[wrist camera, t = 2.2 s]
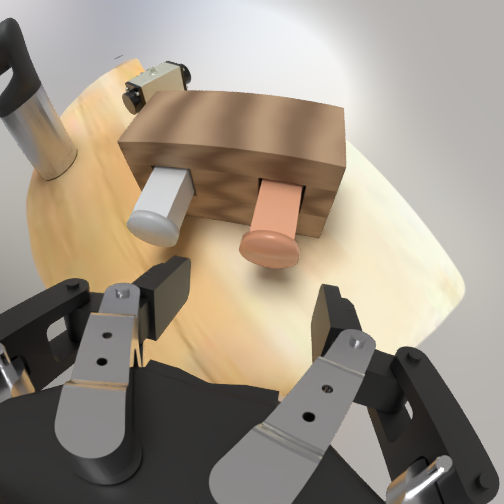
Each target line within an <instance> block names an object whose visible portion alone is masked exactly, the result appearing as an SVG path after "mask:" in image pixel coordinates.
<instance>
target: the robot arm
mask: <svg viewBox="0 0 504 504" xmlns="http://www.w3.org/2000/svg"><path fill="white" fill-rule="evenodd" d="M11 67H12V70H13V76H12V79H11V81H10V83H9V84H8V86H7V87H6V89H5V90H4V91H3V93H2V94H1V96H0V118H1V120H2V121H3V123H4V124H5V126H6V127H7V129H8V130H9V132H10V133H11V135H12V136H13V138H14V139H15V141H16V142H17V144H18V146H19V147H20V148H21V150H22V151H23V153H24V154H25V156H26V157H27V159H28V160H29V161H30V162H31V164H32V165H33V167H34V168H35V169H36V171H37V172H38V173H39V174H40V175H41V177H42V178H43V179H45V180H51V179H54V178H56V177H58V176H59V175H61V174H62V173H63V172H64V171H66V170H67V169H68V167H69V166H70V165H71V164H72V163H73V161H74V159H75V157H76V155H77V149H76V147H75V145H74V144H73V142H72V140H71V138H70V137H69V135H68V133H67V131H66V129H65V128H64V126H63V124H62V122H61V120H60V118H59V117H58V115H57V113H56V111H55V109H54V107H53V105H52V103H51V102H50V100H49V97H48V96H47V94H46V92H45V90H44V87H43V85H42V84H41V81H40V80H39V77H38V75H37V73H36V71H35V68H34V66H33V63H32V61H31V59H30V56H29V53H28V51H27V47H26V44H25V41H24V38H23V35H22V32H21V29H20V27H19V24H18V23H17V21H16V20H15V19H13V18H7V19H5V20H4V21H2V22H1V23H0V75H2V74H3V73H4V72H6V71H7V70H8V69H9V68H11ZM190 270H191V261H190V259H189V258H185V257H180V256H173V257H172V258H170V259H169V260H168V261H167V262H165V263H161V264H158V265H155V266H153V267H152V268H150V269H149V270H148V272H145V273H144V274H143V275H141V276H140V277H139V278H138V279H136V280H135V281H134V282H133V283H132V284H129V283H118V284H114V285H111V286H109V287H108V288H107V289H106V291H105V293H94V292H90V290H89V283H88V282H87V281H86V280H84V279H79V278H72V279H67V280H65V281H62V282H60V283H58V284H56V285H54V286H52V287H50V288H48V289H47V290H45V291H43V292H41V293H39V294H37V295H35V296H33V297H31V298H29V299H27V300H25V301H24V302H22V303H20V304H18V305H16V306H14V307H13V308H11V309H9V310H7V311H5V312H3V313H2V314H0V504H487V503H488V502H490V501H491V500H492V499H493V498H494V497H495V496H496V494H497V492H498V489H499V477H498V475H497V472H496V470H495V468H494V466H493V464H492V462H491V460H490V458H489V456H488V454H487V452H486V451H485V449H484V447H483V445H482V443H481V441H480V439H479V438H478V436H477V434H476V433H475V431H474V429H473V427H472V425H471V424H470V422H469V420H468V419H467V417H466V415H465V414H464V412H463V410H462V409H461V407H460V405H459V404H458V402H457V401H456V399H455V398H454V396H453V394H452V393H451V391H450V390H449V388H448V387H447V385H446V384H445V382H444V380H443V379H442V377H441V376H440V375H439V373H438V372H437V370H436V369H435V367H434V366H433V364H432V363H431V362H430V360H429V359H428V357H427V356H426V355H425V354H424V353H423V352H422V351H420V350H418V349H416V348H413V347H407V346H405V347H401V348H399V349H398V350H397V352H396V354H395V356H394V355H390V354H387V353H384V352H381V351H379V350H377V349H375V347H376V343H375V341H374V339H373V338H372V337H371V336H370V335H368V334H367V333H365V332H362V328H361V325H360V322H359V319H358V318H357V317H358V316H357V314H356V311H355V308H354V305H353V304H352V303H351V302H350V301H349V300H348V299H346V298H341V294H340V291H339V288H338V286H332V285H327V284H322V285H321V287H320V290H319V294H318V298H317V301H316V305H315V309H314V312H313V316H312V322H311V338H312V362H313V364H312V365H311V367H310V368H309V369H308V370H307V372H306V373H305V374H304V375H303V377H302V378H301V379H300V380H299V382H298V383H297V384H296V385H295V387H294V388H293V389H292V390H291V391H290V393H289V394H288V395H287V396H286V397H285V398H284V400H283V401H282V402H280V401H278V396H279V391H275V390H269V389H264V388H258V387H253V386H248V385H229V384H212V383H208V382H205V381H203V380H201V379H199V378H197V377H195V376H193V375H191V374H189V373H187V372H185V371H183V370H181V369H179V368H176V367H173V366H169V365H166V364H163V363H160V362H157V361H154V360H150V361H149V362H148V364H147V365H146V367H144V340H145V339H146V338H148V339H151V340H154V341H157V340H158V338H159V337H160V336H161V334H162V333H163V332H164V330H165V329H166V328H167V326H168V325H169V324H170V322H171V321H172V320H173V318H174V317H175V316H176V314H177V313H178V312H179V310H180V309H181V308H182V306H183V305H184V304H185V302H186V301H187V299H188V295H189V289H190ZM63 316H64V320H65V325H66V328H67V330H66V331H64V332H63V333H61V334H60V335H58V336H57V337H55V338H54V339H52V340H51V341H49V342H48V338H47V329H48V327H49V326H50V325H51V324H52V323H54V322H55V321H57V320H59V319H60V318H62V317H63ZM74 363H75V364H74ZM73 364H74V368H73V372H72V376H71V379H70V381H67V382H66V383H65V384H63V385H59V386H56V387H52V388H48V389H45V390H42V389H43V388H44V387H45V386H47V385H48V384H49V383H50V382H52V381H53V380H54V379H55V378H57V376H59V375H60V374H62V373H63V372H64V371H65V370H67V369H68V368H69V367H70V366H72V365H73ZM40 390H41V391H40ZM407 401H408V402H409V403H410V406H411V408H412V411H413V418H412V420H411V418H410V416H409V414H408V411H407V409H406V407H405V404H406V402H407ZM352 402H355V403H358V404H361V405H364V406H367V409H368V413H369V415H370V418H371V421H372V424H373V427H374V430H375V432H376V435H377V438H378V441H379V444H380V447H381V450H382V453H383V456H384V459H385V462H386V465H387V468H388V472H389V475H390V478H391V481H392V482H391V484H390V485H389V486H388V488H387V492H386V501H383V500H382V499H381V498H380V497H379V496H378V495H377V494H376V493H375V492H374V491H373V490H372V489H371V488H370V486H369V485H367V483H366V482H365V481H364V480H363V479H362V478H361V477H360V476H359V475H358V474H357V473H356V472H355V471H354V470H353V469H352V468H351V467H350V466H349V464H348V463H347V462H346V461H345V460H344V459H343V458H342V457H341V456H340V455H339V454H338V453H337V451H336V450H335V449H334V448H333V447H332V446H331V445H330V443H331V441H332V439H333V438H334V436H335V434H336V432H337V431H338V429H339V427H340V425H341V423H342V421H343V419H344V418H345V415H346V414H347V412H348V410H349V408H350V406H351V404H352Z"/></svg>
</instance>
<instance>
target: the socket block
mask: <svg viewBox="0 0 504 504" xmlns="http://www.w3.org/2000/svg"><path fill="white" fill-rule="evenodd" d="M117 142H118V144H119V146H120V149H121V151H122V153H123V155H124V157H125V159H126V161H127V163H128V165H129V167H130V169H131V171H132V173H133V175H134V177H135V179H136V181H137V183H138V185H139V187H140V189H141V191H143V189H144V187H145V185H146V183H147V181H148V179H149V177H150V175H151V173H152V172H153V170H154V168H155V166H165V167H176V168H187V169H190V171H191V175H192V178H193V182H194V186H195V192H194V194H193V197H192V199H191V202H190V204H189V207H188V209H187V212H186V215H190V216H197V217H203V218H209V219H215V220H221V221H227V222H233V223H239V224H245V225H251V223H252V219H253V215H254V211H255V207H256V203H257V199H258V195H259V191H260V187H261V183H262V179H263V178H264V179H271V180H277V181H283V182H289V183H294V184H300V185H302V191H301V198H300V205H299V212H298V219H297V226H296V232H295V234H301V235H306V236H311V237H317V238H319V237H320V234H321V232H322V229H323V227H324V224H325V222H326V219H327V217H328V214H329V212H330V209H331V207H332V204H333V201H334V199H335V196H336V193H337V191H338V188H339V185H340V183H341V180H342V177H343V175H344V172H345V169H346V142H345V122H344V108H341V107H337V106H332V105H327V104H322V103H317V102H312V101H306V100H300V99H294V98H287V97H280V96H272V95H262V94H253V93H241V92H226V91H193V90H191V91H189V90H185V91H156V92H155V94H154V95H153V96H152V97H151V98H150V100H149V101H148V102H147V103H146V104H145V106H144V107H143V108H142V109H141V111H140V112H139V113H138V114H137V116H136V117H135V118H134V120H133V121H132V122H131V124H130V125H129V126H128V128H127V129H126V130H125V132H124V133H123V134H122V136H121V137H120V139H119V140H118V141H117Z"/></svg>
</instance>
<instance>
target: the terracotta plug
mask: <svg viewBox="0 0 504 504" xmlns="http://www.w3.org/2000/svg"><path fill="white" fill-rule="evenodd" d="M301 191H302V185H300V184H294V183H289V182H283V181H277V180H271V179H264V178H263V179H262V183H261V187H260V191H259V195H258V199H257V203H256V207H255V211H254V215H253V219H252V223H251V227H250V231H249V232H248V233H246V234H245V235H243V237H242V239H241V243H240V247H239V251H240V254H241V255H242V256H243V257H244V258H245V259H247V260H248V261H250V262H252V263H254V264H257V265H260V266H263V267H268V268H278V269H282V268H289V267H292V266H294V265H296V264H297V263H298V261H299V256H300V246H299V244H298V243H297V242H296V241H295V240H294V239H295V232H296V226H297V219H298V212H299V205H300V198H301Z"/></svg>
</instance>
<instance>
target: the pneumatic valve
mask: <svg viewBox="0 0 504 504" xmlns="http://www.w3.org/2000/svg"><path fill="white" fill-rule="evenodd" d="M190 81H191V75H190V72H189V70H188V68H187V67H186V66H185V65H183V64H177V63H174V62H170V61H166V62H164V63H162V64H160V65H158V66H156V67H152V68H150V69H148V70H146V72H144V73H143V72H142V73H140V75H139V76H137V77H135V78H133V79H131V80H130V81H128V82H126V83H125V85H126V89H125V90H126V93H124V94H123V95H122V99H123V102H124V104H125V106H126V108H127V109H128V111H129V112H130V113H131V114H133V115H135V114H137V113H139V112H140V111H141V109H142V108H143V107H144V106H145V104H146V103H147V102H148V101H149V100H150V98H151V97H152V96H153V95H154V94H155V92H156V91H185V90H187V88H188V87H187V86H186V84H188V83H190Z"/></svg>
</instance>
